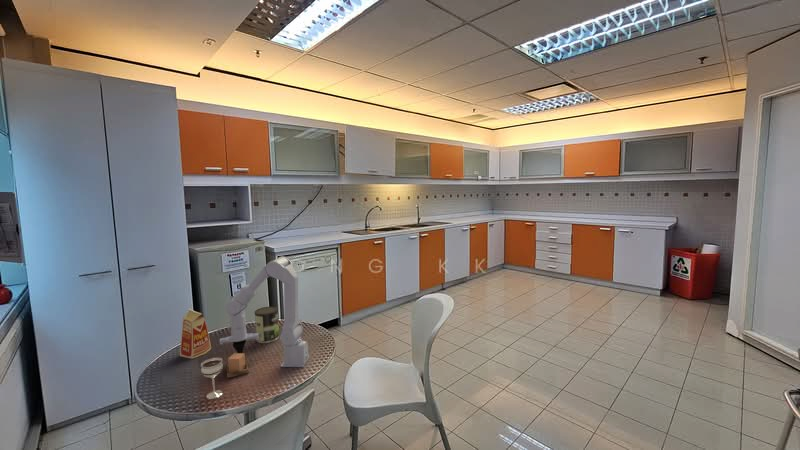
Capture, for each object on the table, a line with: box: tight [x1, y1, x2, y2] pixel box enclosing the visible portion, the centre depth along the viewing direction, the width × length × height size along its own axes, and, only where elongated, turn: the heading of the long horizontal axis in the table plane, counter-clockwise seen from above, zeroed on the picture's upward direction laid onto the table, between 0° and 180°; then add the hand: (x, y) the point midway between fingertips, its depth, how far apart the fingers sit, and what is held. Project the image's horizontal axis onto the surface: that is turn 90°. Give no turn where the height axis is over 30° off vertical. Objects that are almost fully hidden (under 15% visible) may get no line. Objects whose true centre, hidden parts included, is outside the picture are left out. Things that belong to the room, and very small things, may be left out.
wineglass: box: [200, 357, 224, 400], centre depth 118 cm, size 7×7×12 cm
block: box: [227, 352, 246, 373], centre depth 133 cm, size 4×4×6 cm
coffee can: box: [254, 306, 280, 344], centre depth 161 cm, size 10×10×14 cm
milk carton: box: [179, 308, 212, 359], centre depth 148 cm, size 9×9×20 cm
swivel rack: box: [226, 351, 249, 379], centre depth 136 cm, size 7×15×3 cm, turn 29°
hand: (240, 357), depth 141 cm, fingers closed
